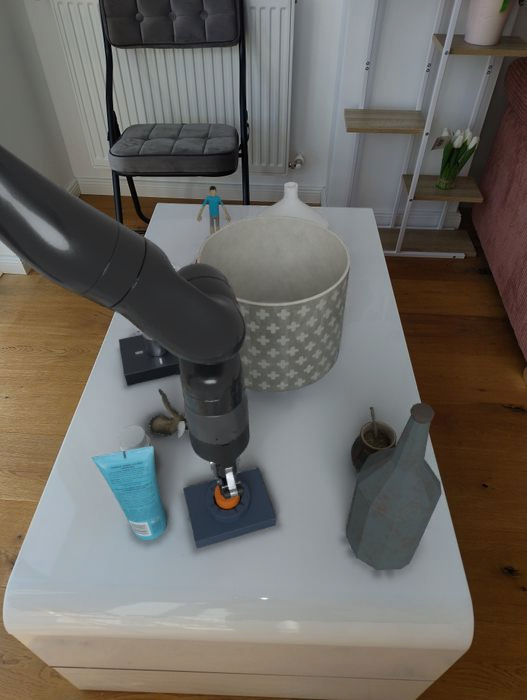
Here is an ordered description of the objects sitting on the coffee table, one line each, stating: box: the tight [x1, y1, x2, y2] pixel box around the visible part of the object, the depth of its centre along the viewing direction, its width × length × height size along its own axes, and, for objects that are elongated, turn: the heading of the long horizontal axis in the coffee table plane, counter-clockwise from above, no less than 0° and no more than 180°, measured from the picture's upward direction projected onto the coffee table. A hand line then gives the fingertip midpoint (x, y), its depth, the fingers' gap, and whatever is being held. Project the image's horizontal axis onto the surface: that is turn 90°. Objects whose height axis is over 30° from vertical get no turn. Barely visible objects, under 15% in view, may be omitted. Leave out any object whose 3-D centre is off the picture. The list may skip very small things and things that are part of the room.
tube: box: [91, 445, 167, 541], centre depth 70 cm, size 7×5×19 cm, turn 107°
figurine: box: [196, 185, 232, 237], centre depth 125 cm, size 8×3×15 cm, turn 94°
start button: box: [215, 486, 240, 509], centre depth 76 cm, size 4×4×2 cm
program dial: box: [141, 331, 168, 356], centre depth 98 cm, size 4×4×5 cm
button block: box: [182, 467, 277, 549], centre depth 77 cm, size 12×9×4 cm
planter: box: [196, 216, 351, 393], centre depth 93 cm, size 25×25×24 cm
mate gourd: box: [350, 406, 398, 472], centre depth 81 cm, size 7×8×10 cm
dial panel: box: [118, 334, 180, 386], centre depth 100 cm, size 14×10×3 cm
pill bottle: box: [118, 424, 156, 463], centre depth 82 cm, size 5×5×8 cm
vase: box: [254, 181, 331, 230], centre depth 118 cm, size 18×18×19 cm
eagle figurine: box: [148, 388, 188, 439], centre depth 88 cm, size 8×7×9 cm
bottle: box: [345, 402, 443, 571], centre depth 65 cm, size 10×10×30 cm
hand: (227, 490), depth 75 cm, fingers closed
